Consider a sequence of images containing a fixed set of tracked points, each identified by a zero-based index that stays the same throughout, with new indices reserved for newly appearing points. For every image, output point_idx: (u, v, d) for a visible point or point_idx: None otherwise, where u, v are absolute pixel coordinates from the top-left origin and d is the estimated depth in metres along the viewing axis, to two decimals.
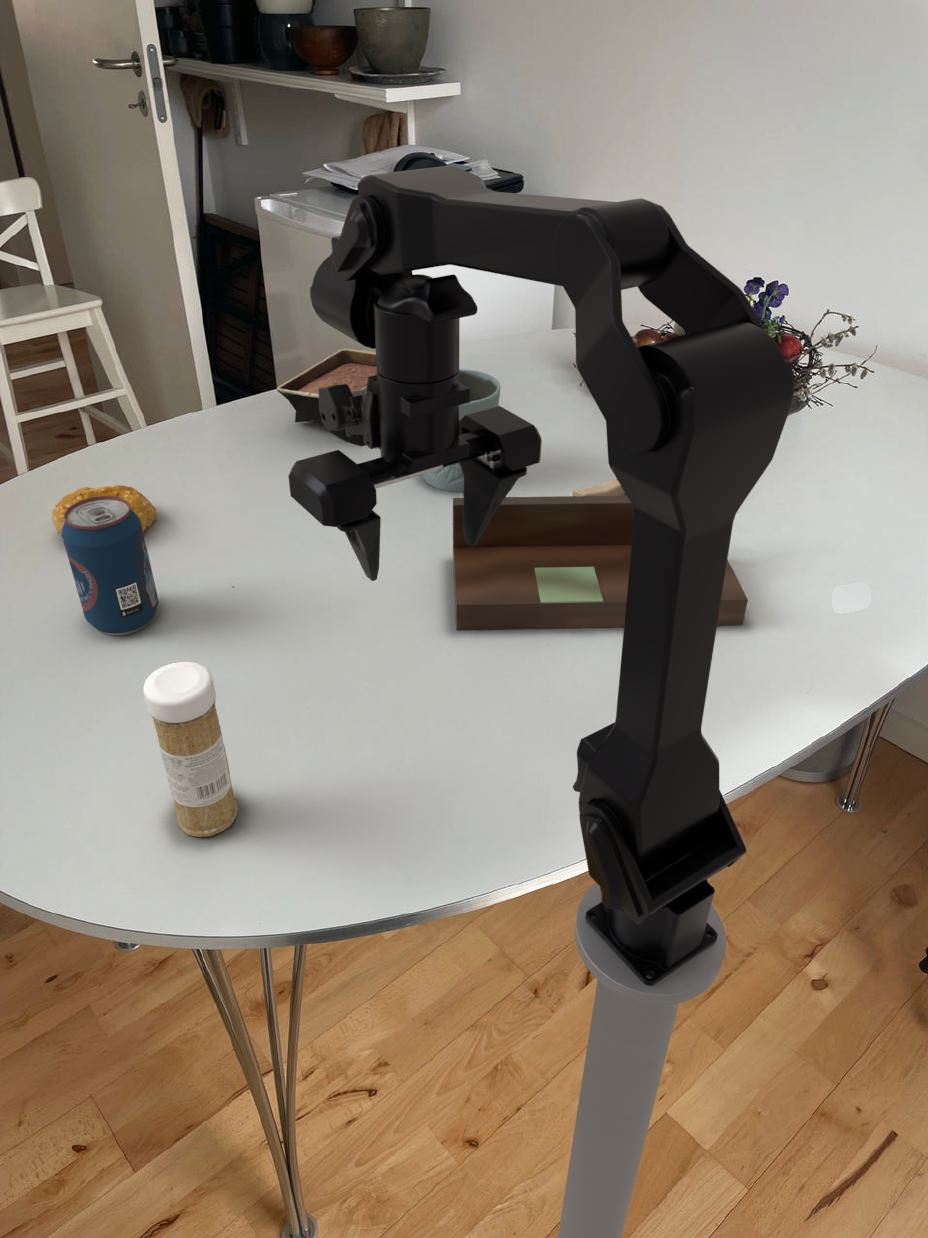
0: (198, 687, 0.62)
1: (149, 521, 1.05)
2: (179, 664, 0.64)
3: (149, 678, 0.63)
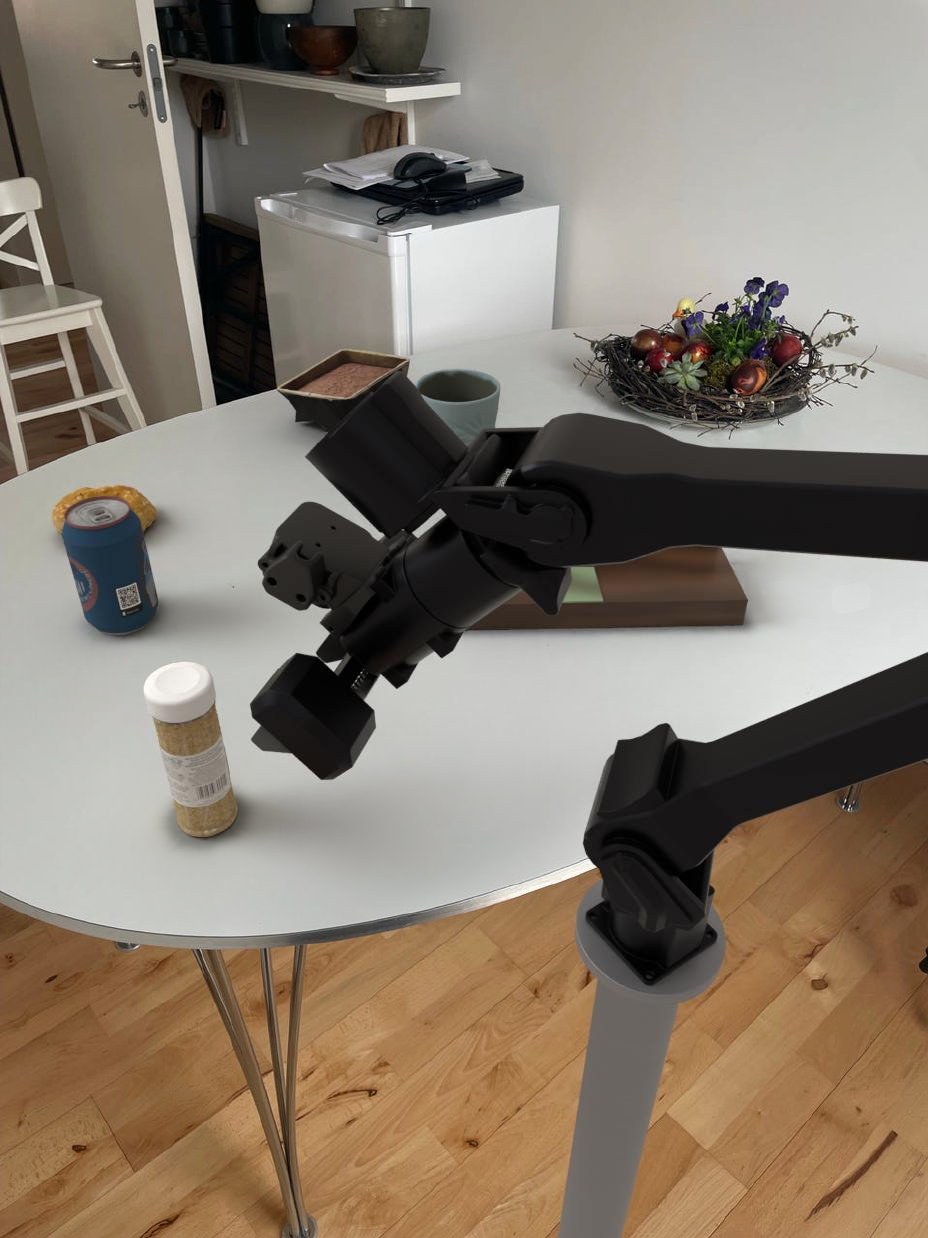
0: (198, 687, 0.62)
1: (149, 521, 1.05)
2: (179, 664, 0.64)
3: (149, 678, 0.63)
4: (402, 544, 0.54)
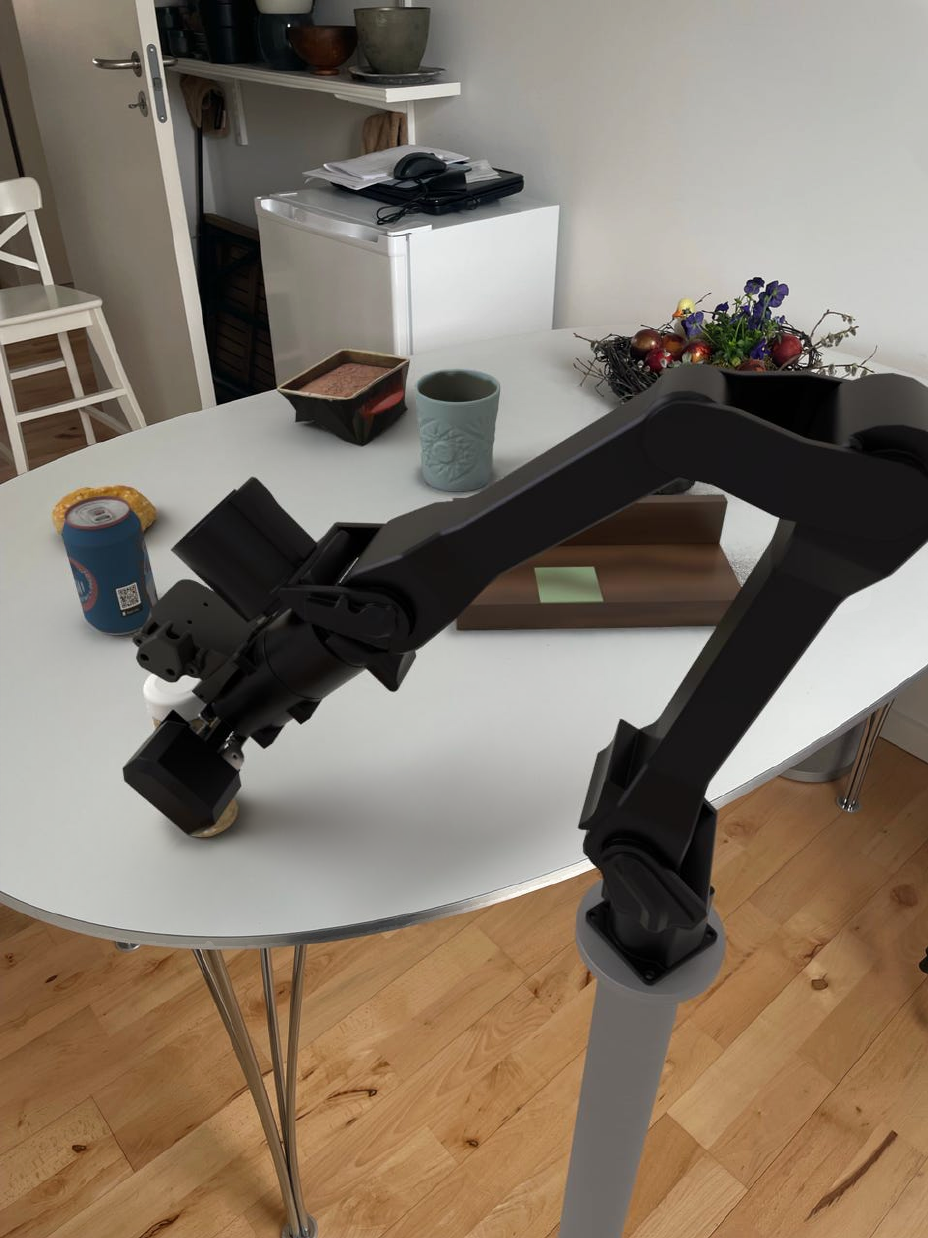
0: None
1: (149, 521, 1.05)
2: None
3: (149, 678, 0.63)
4: (268, 620, 0.60)
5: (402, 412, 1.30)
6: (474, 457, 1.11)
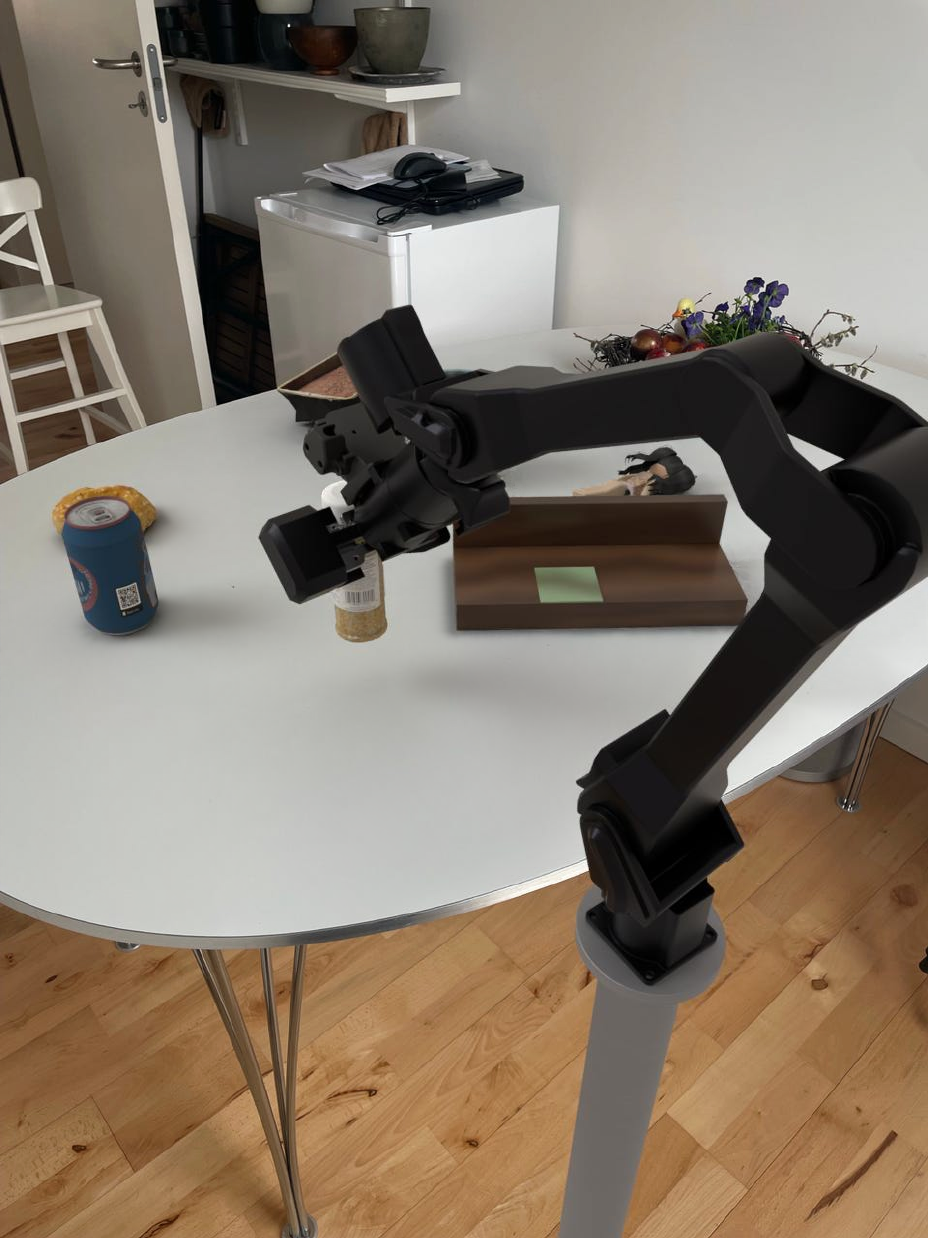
0: None
1: (149, 521, 1.05)
2: None
3: None
4: None
5: None
6: None
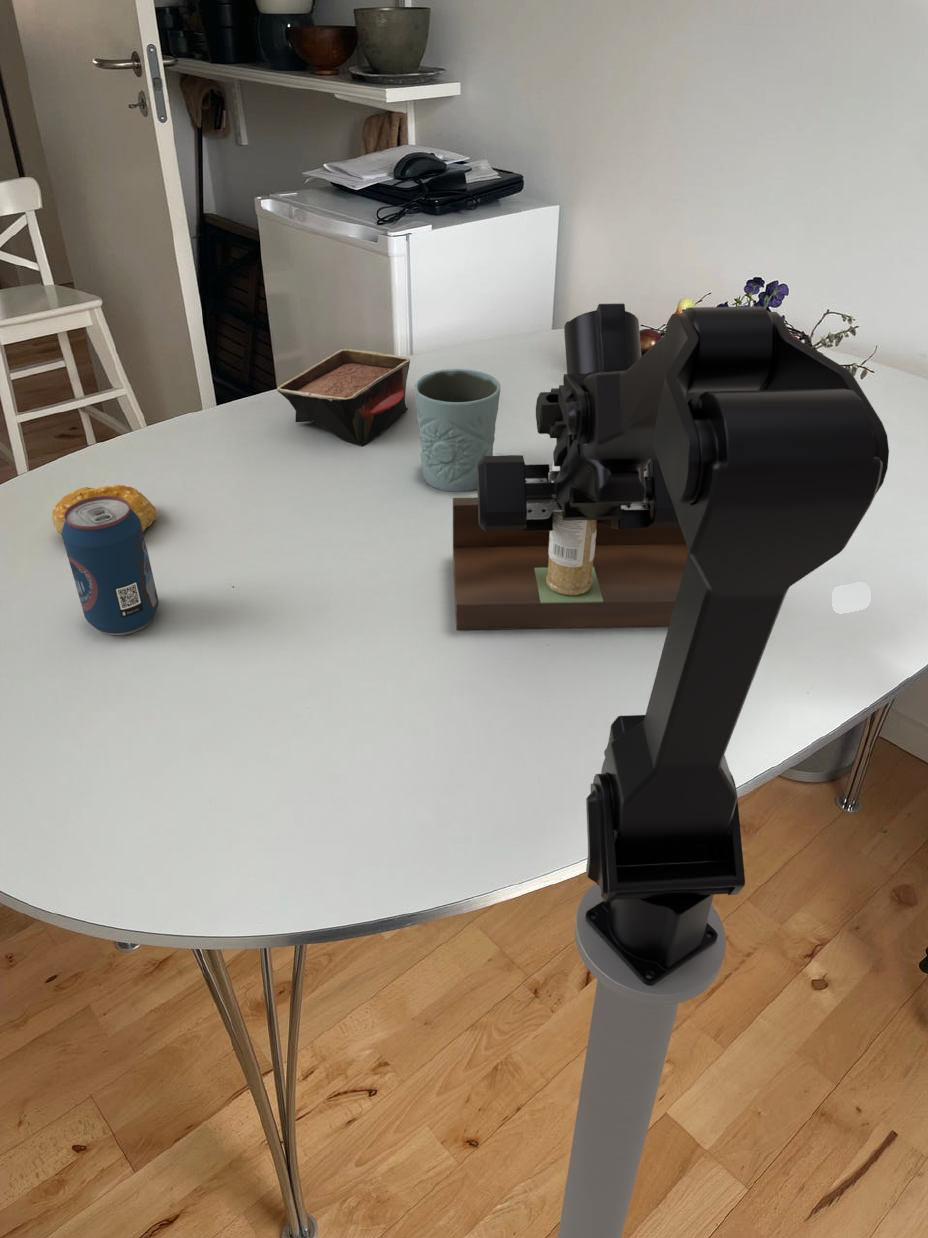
0: None
1: (149, 521, 1.05)
2: None
3: None
4: None
5: (402, 412, 1.30)
6: (474, 457, 1.11)
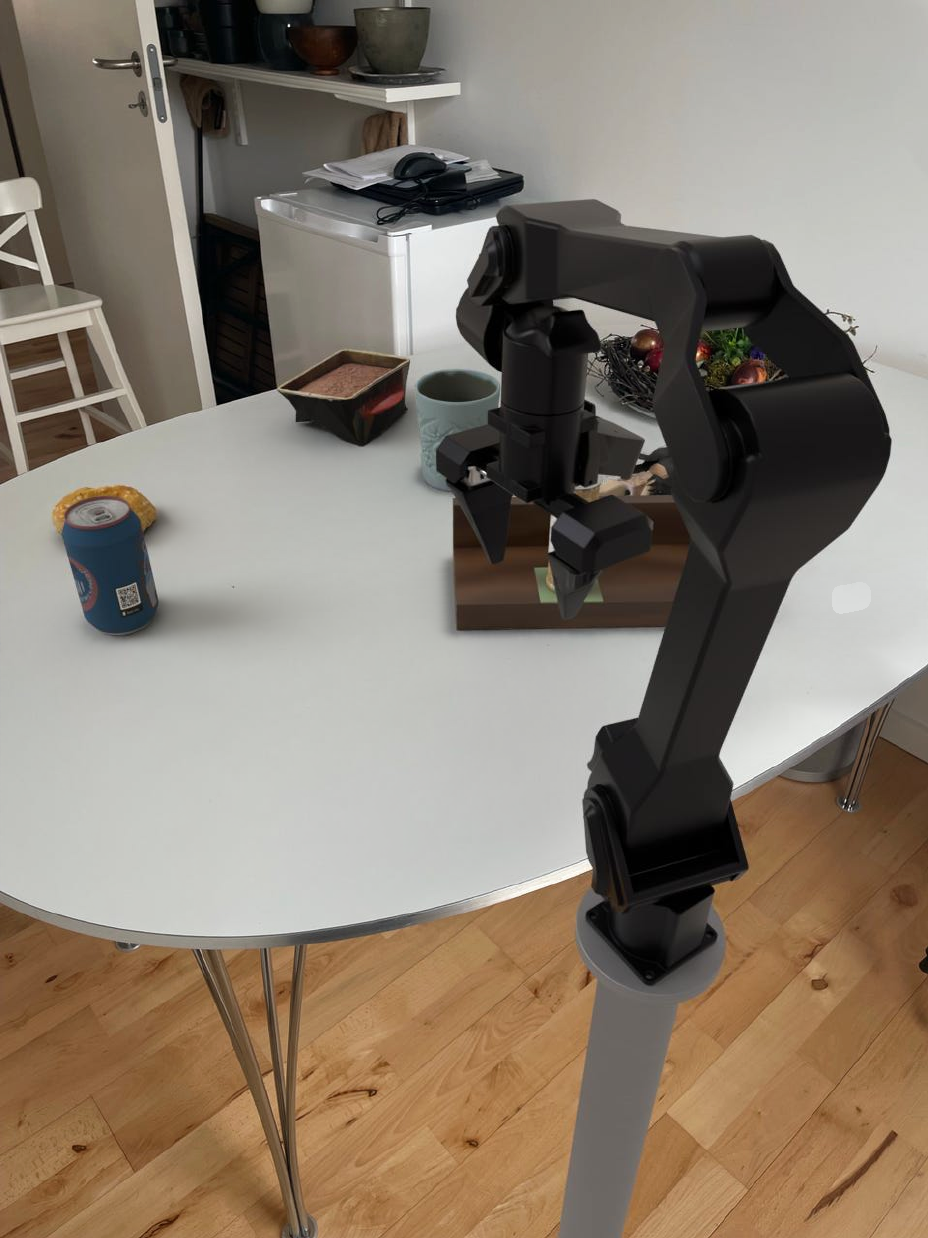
0: None
1: (149, 521, 1.05)
2: None
3: None
4: None
5: (402, 412, 1.30)
6: None
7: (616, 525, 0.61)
